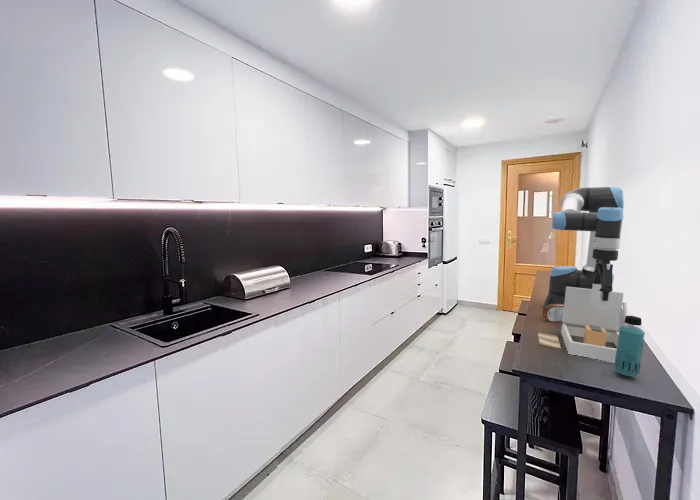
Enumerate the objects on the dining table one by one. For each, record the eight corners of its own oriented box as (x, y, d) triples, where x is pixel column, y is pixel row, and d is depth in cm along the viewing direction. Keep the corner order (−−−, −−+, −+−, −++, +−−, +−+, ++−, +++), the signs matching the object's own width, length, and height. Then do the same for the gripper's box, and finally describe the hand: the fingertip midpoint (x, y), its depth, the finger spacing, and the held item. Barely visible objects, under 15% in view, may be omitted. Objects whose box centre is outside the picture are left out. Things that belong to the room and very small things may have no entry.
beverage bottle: (617, 378, 105) (625, 318, 102) (609, 369, 111) (616, 312, 108) (642, 383, 102) (651, 321, 100) (633, 373, 108) (641, 315, 106)
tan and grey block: (582, 344, 131) (585, 324, 130) (601, 347, 128) (604, 326, 127) (585, 349, 126) (587, 328, 125) (604, 352, 124) (607, 331, 123)
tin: (569, 319, 160) (571, 303, 159) (574, 322, 157) (576, 305, 156) (541, 320, 159) (542, 303, 157) (545, 322, 155) (547, 305, 154)
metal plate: (537, 333, 142) (537, 332, 142) (557, 336, 139) (557, 335, 139) (539, 345, 129) (539, 344, 129) (560, 349, 126) (561, 348, 126)
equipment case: (561, 333, 142) (566, 286, 139) (620, 343, 133) (627, 292, 130) (568, 354, 121) (574, 299, 119) (639, 367, 112) (648, 308, 109)
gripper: (587, 245, 135) (581, 295, 137) (600, 251, 113) (593, 311, 115) (609, 246, 131) (603, 298, 134) (628, 253, 109) (620, 314, 112)
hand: (598, 304), depth 125 cm, fingers open, 13 cm apart
